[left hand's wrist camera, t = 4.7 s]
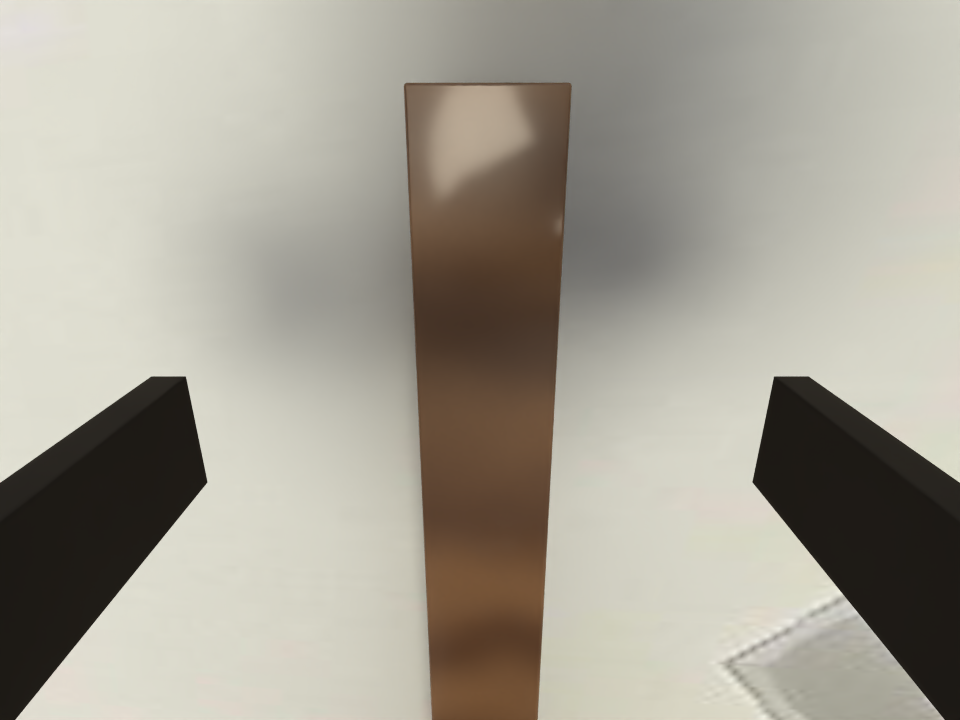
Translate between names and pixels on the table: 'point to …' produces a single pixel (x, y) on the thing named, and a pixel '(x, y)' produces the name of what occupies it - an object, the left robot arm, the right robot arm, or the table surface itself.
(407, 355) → the table surface
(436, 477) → the beam
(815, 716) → the table surface
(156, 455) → the left robot arm
